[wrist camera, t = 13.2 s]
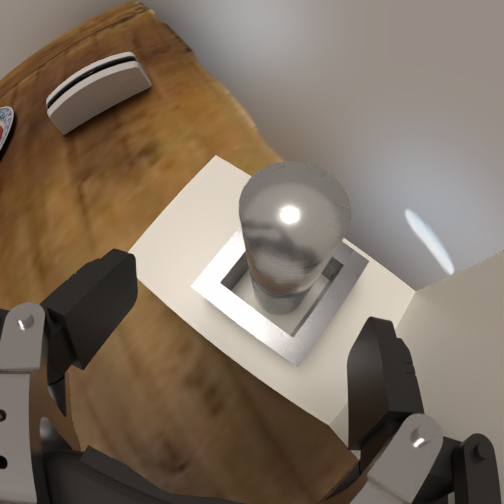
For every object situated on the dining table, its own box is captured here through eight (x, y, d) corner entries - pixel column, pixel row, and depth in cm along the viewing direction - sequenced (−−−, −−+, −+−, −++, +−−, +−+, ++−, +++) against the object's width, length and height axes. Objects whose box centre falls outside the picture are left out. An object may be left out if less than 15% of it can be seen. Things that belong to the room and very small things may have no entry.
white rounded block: (146, 72, 39) (134, 36, 29) (154, 91, 39) (142, 55, 29) (61, 119, 37) (33, 94, 27) (66, 140, 37) (36, 116, 27)
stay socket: (204, 297, 20) (190, 286, 17) (268, 218, 22) (269, 192, 18) (290, 362, 19) (297, 367, 15) (351, 276, 20) (369, 260, 17)
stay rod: (243, 294, 20) (215, 217, 9) (273, 255, 21) (280, 145, 10) (284, 324, 19) (312, 284, 8) (314, 283, 20) (368, 197, 9)
